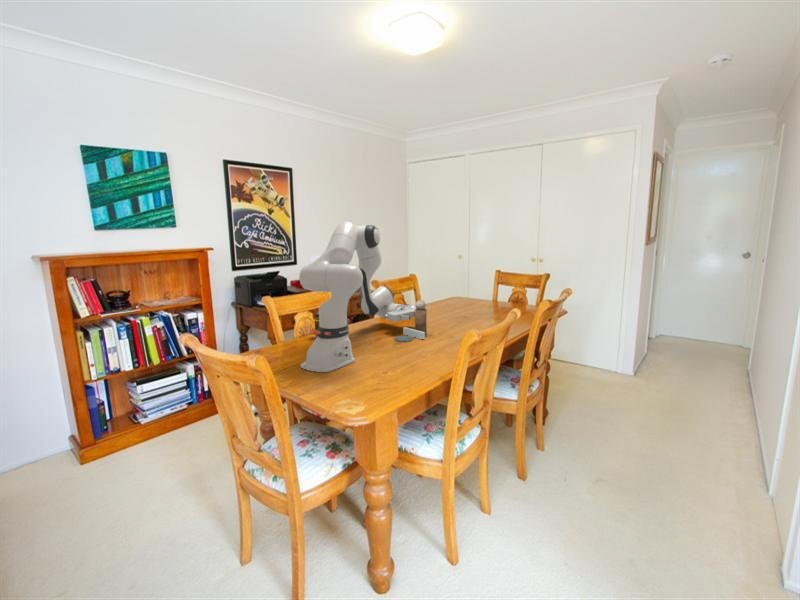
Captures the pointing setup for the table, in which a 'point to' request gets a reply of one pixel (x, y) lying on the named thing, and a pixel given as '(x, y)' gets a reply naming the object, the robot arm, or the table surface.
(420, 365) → the table surface
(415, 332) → the acrylic wall
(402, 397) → the table surface
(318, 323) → the condiment
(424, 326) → the peg
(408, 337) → the mat
